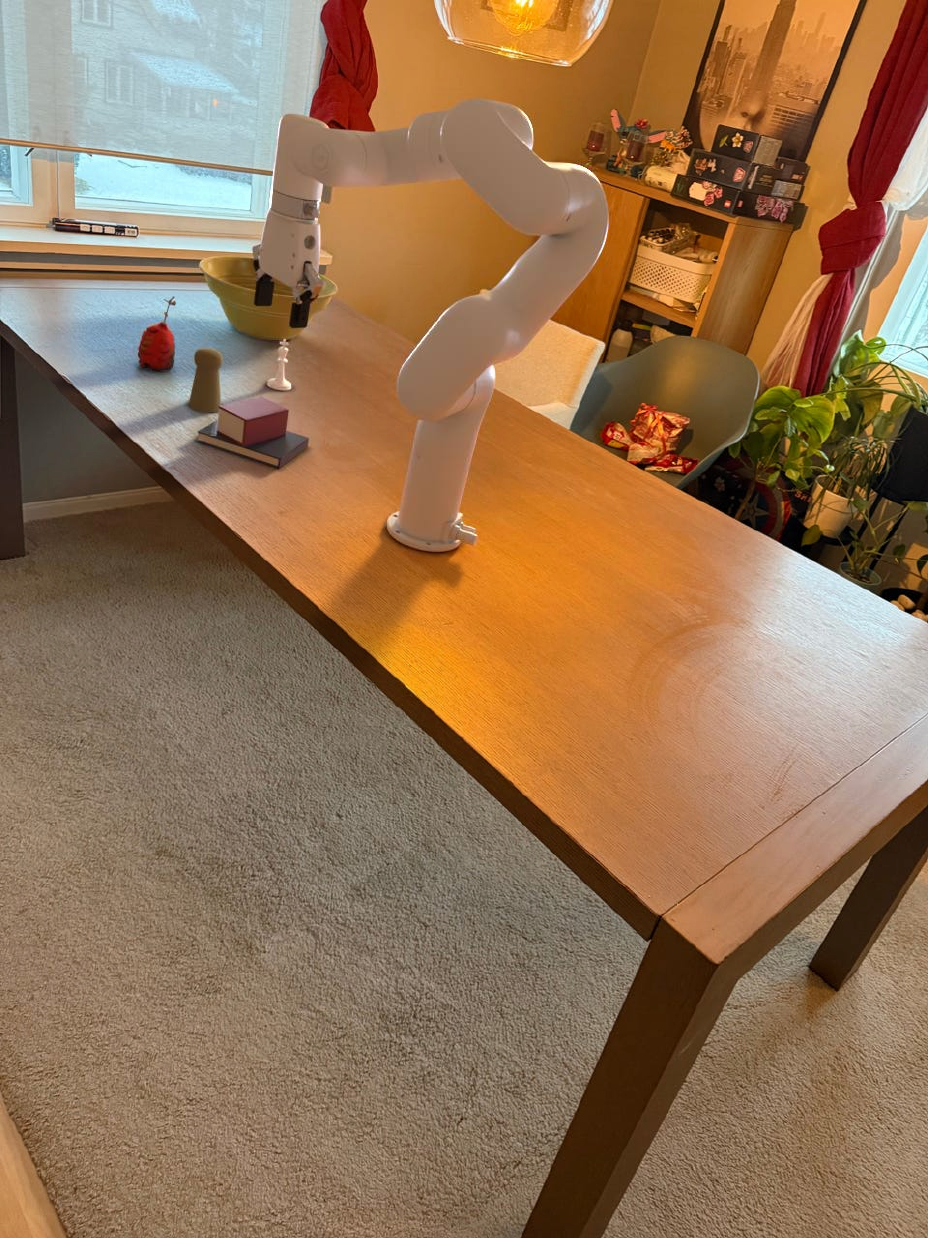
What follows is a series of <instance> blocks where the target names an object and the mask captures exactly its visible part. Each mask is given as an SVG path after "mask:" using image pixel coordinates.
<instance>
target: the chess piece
mask: <svg viewBox="0 0 928 1238" xmlns="http://www.w3.org/2000/svg"><path fill="white" fill-rule="evenodd" d="M279 345H282V346H280V347H278V353H279V357H277V360H276V362H279V365H278V368H277V372H276V376H274V378H269V379H268V380H267V384H266V385H267V386H268V387H269V388H272V389H274V390H277V391H289V390H291V389H292V383H291V382H290V381H288V380H286V378H285V364H286V363H288V359H287V358H286V357H287V355H288V353H289V349H288V347H286V346H289V342H287V340H286V339H283V340H282V341H279Z"/></svg>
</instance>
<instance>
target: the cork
mask: <svg viewBox="0 0 928 1238" xmlns="http://www.w3.org/2000/svg"><path fill="white" fill-rule="evenodd" d="M223 359H224V358H223V355H222V353H221V352H220V351H219V350H218V349H217V350H216V349H215V348H209V347H201V348H198V349H197V350H195V352H194V354H193V361H194V364H195V366H196V367H195V372H194V377H193V382H192V387H191V392H190V396H189V401H188V402H189V403H188V406H189V407H190V408H191V409H193V410H195V411H197V412H201V413H218V412H219V406H220V405H222V396H221V380H220V369H221V368H222V367H223V363H224V360H223Z"/></svg>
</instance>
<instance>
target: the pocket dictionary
mask: <svg viewBox="0 0 928 1238" xmlns="http://www.w3.org/2000/svg"><path fill="white" fill-rule="evenodd" d="M289 413H290V409H288V408H286V407H284V406H282V405H280V404H278V403H275V402H273V401H272V400H270V399H267V398H265V397H264V396H263V395H261V396H257V397H252V398H247V399H244V400H238V401H235V402H229V403H225V404H221V405H220V406H219V411H218V418H217V420H218V429H217V433H219V434H221V435H223V436H224V437H226V438H228V439H230V440H232V441H234V442H236V443H238V444H240V445H242V446H243V447H245V446H249V445H253V444H256V443H260V442H264V441H267V440H271V439H275V438H278V437H282V436H286V431H287V429H288V428H287V427H288V421H289V420H288V419H289Z"/></svg>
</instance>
